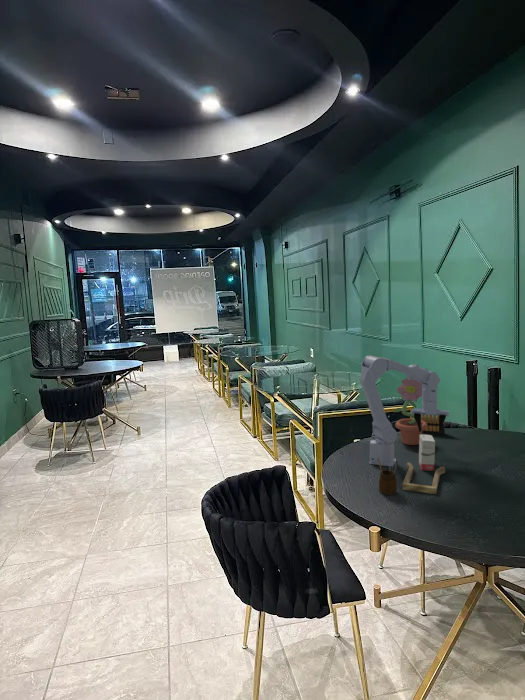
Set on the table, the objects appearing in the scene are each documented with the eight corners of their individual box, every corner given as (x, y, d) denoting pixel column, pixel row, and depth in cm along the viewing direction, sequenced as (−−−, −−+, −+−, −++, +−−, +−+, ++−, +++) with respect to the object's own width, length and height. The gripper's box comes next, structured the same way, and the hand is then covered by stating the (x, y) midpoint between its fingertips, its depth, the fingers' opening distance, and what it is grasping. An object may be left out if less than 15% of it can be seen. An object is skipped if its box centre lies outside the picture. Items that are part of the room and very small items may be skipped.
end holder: (398, 488, 159) (398, 483, 159) (407, 467, 178) (407, 462, 178) (440, 494, 153) (440, 489, 153) (445, 471, 172) (445, 466, 172)
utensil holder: (396, 496, 154) (396, 462, 152) (377, 494, 156) (376, 460, 154) (397, 489, 159) (397, 456, 158) (379, 487, 161) (378, 454, 160)
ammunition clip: (421, 433, 220) (420, 408, 218) (421, 431, 221) (421, 408, 220) (444, 434, 216) (444, 410, 214) (444, 433, 217) (444, 409, 216)
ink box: (435, 471, 173) (435, 441, 172) (421, 470, 174) (421, 440, 173) (431, 462, 182) (431, 434, 180) (418, 462, 183) (418, 433, 181)
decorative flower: (391, 446, 203) (390, 380, 199) (394, 436, 216) (394, 375, 212) (426, 449, 197) (426, 381, 194) (428, 439, 210) (428, 375, 206)
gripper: (449, 398, 186) (449, 430, 188) (412, 396, 192) (413, 427, 194) (448, 402, 180) (448, 435, 181) (410, 400, 186) (410, 432, 188)
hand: (430, 431), depth 187 cm, fingers open, 7 cm apart
